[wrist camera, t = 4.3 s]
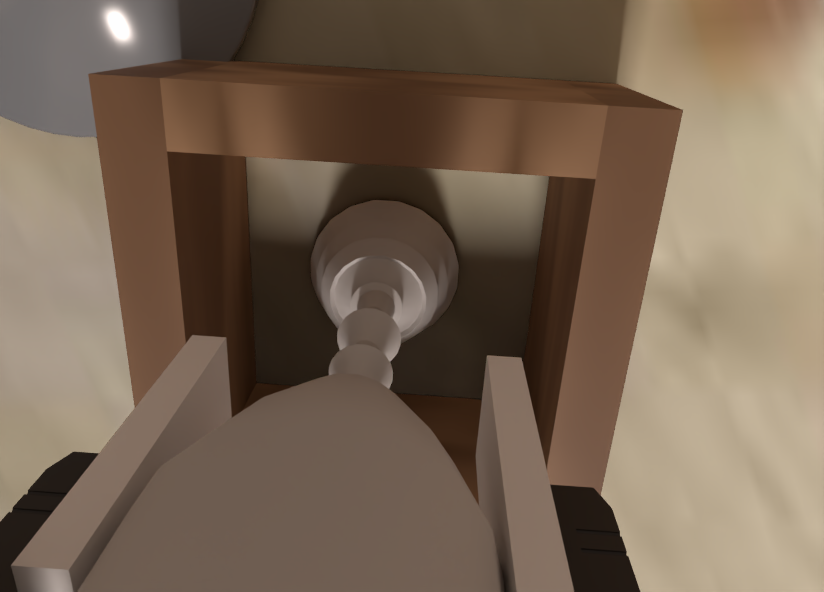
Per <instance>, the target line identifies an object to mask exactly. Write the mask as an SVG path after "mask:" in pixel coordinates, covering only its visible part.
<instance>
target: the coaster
mask: <svg viewBox="0 0 824 592" xmlns="http://www.w3.org/2000/svg"><path fill="white" fill-rule="evenodd" d="M257 3H258V0H0V116H2V117H4V118H6V119H9V120H11V121H14V122H16V123H19V124H22V125H24V126H27V127H30V128H33V129H37V130H41V131H45V132H49V133H53V134H59V135H67V136H75V137H97V134H96V127H95V119H94V112H93V105H92V98H91V91H90V84H89V77H88V74H90V73H96V72H103V71H109V70H115V69H122V68H128V67H134V66H141V65H147V64H153V63H160V62H166V61H172V60H178V59H188V60H205V61H222V62H228V61H233V59H234V58H235V56H236V54H237V53H238V51H239V49H240V47H241V46H242V44H243V42H244V40H245V37H246V35H247V32H248V30H249V28H250V25H251V23H252V20H253V18H254V14H255V10H256V7H257Z"/></svg>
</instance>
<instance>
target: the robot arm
mask: <svg viewBox="0 0 824 592" xmlns="http://www.w3.org/2000/svg"><path fill="white" fill-rule="evenodd" d="M231 418H232V414H231V399H230V385H229V371H228V356H227V342H226V337H213V336H198V335H192V336H191V338H190V339H189V340H188V341H187V343H186V344H185V345H184V346H183V348H182V349H181V350H180V351H179V353H178V354H177V355H176V357H175V358H174V359H173V360H172V362H171V363H170V364H169V365H168V367H167V368H166V369H165V371H164V372H163V373H162V374H161V376H160V377H159V378H158V379H157V381H156V382H155V383H154V384H153V386H152V387H151V388H150V390H149V391H148V392H147V393H146V395H145V396H144V397H143V398H142V400H141V401H140V402H139V404H138V405H137V406H136V407H135V409H134V410H133V411H132V412H131V414H130V415H129V416H128V417H127V419H126V420H125V421H124V423H123V424H122V425H121V426H120V428H119V429H118V430H117V431H116V433H115V434H114V435H113V436H112V438H111V439H110V440H109V442H108V443H107V444H106V445H105V447H104V448H103V449H102V450H101V452H100V453H99V454H98V453H85V452H73V453H71V454H69V455H68V456H66V457H65V458H63V459H62V460H60V461H58V462H57V463H55V464H54V465H52V466H51V467H49V468H48V469H46V470H45V471H44V473H43V474H42V475H41V476H40V477H39V478H38V479H37V481H36V482H35V483H34V484H33V485H32V486H31V487H30V489H29V490H28V494H27V495H25V494H24V495H23V497H22V498H21V499H20V500H19V501H18V502H17V503H16V505H15V506H14V507H13V510H12V512H9V513H8V514H7V515H6V516H5V517H4V518H3V519H2V521H1V522H0V592H77V591H78V590H79V588H80V586H81V585H82V583H83V582H84V580H85V579H86V577H87V575H88V574H89V572H90V571H91V569H92V568H93V566H94V564H95V563H96V561H97V560H98V558H99V557H100V555H101V554H102V552H103V550H104V549H105V547H106V546H107V544H108V543H109V541H110V539H111V538H112V536H113V535H114V533H115V532H116V530H117V528H118V527H119V525H120V524H121V522H122V521H123V519H124V517H125V516H126V514H127V513H128V511H129V510H130V508H131V507H132V505H133V504H134V502H135V501H136V500H137V498H138V497H139V495H140V494H141V493H142V491H143V490H144V488H145V487H146V486H147V484H148V483H149V481H150V480H151V479H152V477H153V476H154V474H155V473H156V472H157V470H158V469H159V467H160V466H161V465H163V464H164V463H166V462H167V461H169V460H170V459H172V458H173V457H175V456H176V455H178V454H179V453H181V452H182V451H183V450H185V449H186V448H188V447H189V446H191V445H192V444H194V443H195V442H197V441H198V440H200V439H201V438H203V437H204V436H206V435H207V434H209V433H210V432H211V431H213V430H214V429H216V428H217V427H219V426H220V425H222V424H223V423H225V422H226V421H228V420H229V419H231ZM476 470H477V484H478V498H479V507H480V509H481V510H482V512H483V514H484V516H485V517H486V519H487V521H488V522H489V524H490V526H491V528H492V530H493V534H494V538H495V542H496V546H497V550H498V554H499V558H500V562H501V567H502V571H503V575H504V583H505V592H640V590H639V587H638V584H637V581H636V578H635V575H634V572H633V569H632V566H631V563H630V560H629V557H628V556H627V555H626V552H627V551H626V548H625V545H624V543H623V540H622V537H620V531H619V528H618V525H617V522H616V519H615V516H614V513H613V510H612V508H611V507H610V506H609V505H608V504H607V502H606V501H605V500H604V499H603V498H602V497H601V496H600V494H599V493H598V492H597V491H596V490H595V489H594V488H592V487H578V486H565V485H551V484H550V482H549V478H548V473H547V469H546V464H545V460H544V455H543V451H542V447H541V442H540V438H539V433H538V429H537V424H536V420H535V416H534V411H533V407H532V402H531V398H530V393H529V389H528V385H527V380H526V376H525V371H524V367H523V362H522V358H519V357H504V356H490V355H487V360H486V369H485V377H484V386H483V395H482V404H481V413H480V421H479V430H478V439H477V448H476Z"/></svg>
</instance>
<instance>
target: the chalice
mask: <svg viewBox="0 0 824 592" xmlns="http://www.w3.org/2000/svg"><path fill="white" fill-rule="evenodd" d="M458 271H459V265H458V261H457V257H456V253H455V249H454V246H453V243H452V242H451V240H450V239H449V237H448V236H447V234H446V233H445V231H444V230H443V228H442V227H441V225H440V224H439V223H437V222H436V221H435V220H434V219H432V218H431V217H430V216H429V215H427V214H426V213H425V212H424V211H422V210H421V209H418V208H415V207H413V206H410V205H407V204H405V203H402V202H399V201H385V200H372V201H368V202H364V203H361V204H357V205H353V206H350V207H349V208H347V209H346V210H344V211H343V212H341V213H340V214H338V215H337V216H335V217H334V218H332V219H331V220H330V221H329V223H328V224H327V225H326V227H325V228H324V229H323V231H322V232H321V233H320V234H319V236H318V237H317V240H316V243H315V246H314V249H313V252H312V255H311V281H312V284H313V287H314V289H315V292H316V295H317V298H318V301H319V302H320V303H321V305H322V306H323V308H324V310H325V311H326V312H327V315H328V316H329V318H330V319H331V320H332V322H333V323H334V324H335V325H336V327H337V328H338V332H337V342H338V346H339V349H340V351H339V352H337V354H336V355H335V356H334V357H333V359H332V360H331V363H330V366H329V375H328V376H325V377H321V378H317V379H314V380H311V381H308V382H305V383H302V384H300V385H297V386H294V387H291V388H288V389H285V390H282V391H279V392H276V393H274V394H271V395H268V396H265V397H263V398H261V399H260V400H258V401H257V402H255V403H254V404H252V405H251V406H249V407H248V408H246V409H244V410H243V411H241V412H240V413H238V414H237V415H235V416H234V417H232V418H231V419H229V420H228V421H226V422H225V423H223V424H222V425H220V426H219V427H217V428H216V429H214V430H213V431H211V432H210V433H209V434H207V435H206V436H204V437H203V438H201V439H200V440H198V441H197V442H195V443H194V444H192V445H191V446H189V447H188V448H186V449H185V450H183V451H182V452H181V453H179V454H178V455H176V456H175V457H173V458H172V459H170V460H169V461H167V462H166V463H164V464H163V465H161V466H160V467H159V469H158V470H157V472H156V473H155V474H154V476H153V477H152V479H151V480H150V481H149V483H148V484H147V486H146V487H145V488H144V490H143V491H142V493H141V494H140V495H139V497H138V498H137V500H136V501H135V502H134V504H133V505H132V507H131V508H130V510H129V511H128V513H127V514H126V516H125V517H124V519H123V521H122V522H121V524H120V525H119V527H118V528H117V530H116V532H115V533H114V535H113V536H112V538H111V539H110V541H109V543H108V544H107V546H106V547H105V549H104V550H103V552H102V554H101V555H100V557H99V558H98V560H97V561H96V563H95V564H94V566H93V568H92V569H91V571H90V572H89V574H88V575H87V577H86V579H85V580H84V582H83V583H82V585H81V586H80V588H79V590H78V591H77V592H505V583H504V575H503V571H502V567H501V562H500V558H499V554H498V550H497V546H496V542H495V538H494V534H493V530H492V528H491V526H490V524H489V522H488V521H487V519H486V517H485V516H484V514H483V512H482V510H481V509H480V507H479V505H478V503H477V502H476V500H475V498H474V496H473V495H472V493H471V491H470V490H469V488H468V486H467V484H466V483H465V481H464V479H463V477H462V476H461V474H460V472H459V470H458V469H457V467H456V465H455V463H454V462H453V460H452V459H451V458H450V456H449V455H448V453H447V452H446V450H445V449H444V447H443V446H442V445H441V443H440V442H439V440H438V439H437V437H436V436H435V434H434V433H433V432H432V430H431V429H430V428H429V427H428V426H427V425H426V424H425V423H424V422H423V421H422V420H421V419H420V418H419V417H418V416H417V415H416V414H415V413H414V412H413V411H412V410H411V409H410V408H409V407H408V406H407V405H406V404H405V403H404V402H403V401H402V400H401V399H400V398H399V397H398V396H397V395H396V394H395V393H393V392H392V391H391V390H389V388H390V386H391V383H392V381H393V370H392V366H391V363H390V361H391V360H392V359H393V358H394V357H395V356H396V354H397V353H398V350H399V348H400V345H401V343H402V342H405V341H407V340H409V339H410V338H412V337H414V336H416V335H417V334H419V333H420V332H422V331H423V330H425V329H426V328H428V327H430V326H431V325H433V324H434V323H435V322H436V321H437V320H438V319H439V318H440V317H441V316H442V315H443V313H444V312H445V311H446V310H447V309H448V308H449V306H450V303H451V301H452V299H453V297H454V294H455V292H456V290H457V284H458Z"/></svg>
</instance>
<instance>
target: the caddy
mask: <svg viewBox="0 0 824 592" xmlns="http://www.w3.org/2000/svg"><path fill="white" fill-rule="evenodd" d="M88 77H89V84H90V91H91V98H92V105H93V112H94V119H95V127H96V134H97V141H98V148H99V155H100V162H101V169H102V177H103V184H104V191H105V198H106V205H107V212H108V219H109V227H110V234H111V241H112V248H113V255H114V262H115V269H116V277H117V284H118V291H119V298H120V305H121V312H122V319H123V327H124V334H125V341H126V348H127V355H128V362H129V369H130V377H131V384H132V391H133V398H134V405H135V407H136V406H137V405H138V404H139V402H140V401H141V400H142V398H143V397H144V396H145V395H146V393H147V392H148V391H149V390H150V388H151V387H152V386H153V384H154V383H155V382H156V381H157V379H158V378H159V377H160V376H161V374H162V373H163V372H164V371H165V369H166V368H167V367H168V365H169V364H170V363H171V362H172V360H173V359H174V358H175V357H176V355H177V354H178V353H179V351H180V350H181V349H182V348H183V346H184V345H185V344H186V343H187V341H188V340H189V339H190V338H191V336H192V335H198V336H213V337H226V342H227V356H228V371H229V385H230V399H231V414H232V417H234V416H235V415H237V414H238V413H240V412H241V411H243V410H244V409H246V408H248V407H249V406H251V405H252V404H254V403H255V402H257V401H258V400H260V399H261V398H263V397H265V396H268V395H271V394H274V393H276V392H279V391H282V390H285V389H288V388H291V387H294V386H290V385H276V384H263V383H257V381H256V361H255V341H254V321H253V301H252V281H251V261H250V241H249V221H248V201H247V181H246V161H245V156H246V157H262V158H278V159H293V160H309V161H324V162H340V163H355V164H371V165H386V166H402V167H418V168H433V169H449V170H464V171H480V172H495V173H511V174H526V175H542V176H550V177H549V184H548V191H547V198H546V206H545V213H544V220H543V227H542V234H541V241H540V249H539V256H538V263H537V270H536V277H535V284H534V291H533V299H532V306H531V313H530V320H529V327H528V334H527V342H526V349H525V356H524V363H523V367H524V371H525V376H526V380H527V385H528V389H529V393H530V398H531V402H532V407H533V411H534V416H535V420H536V424H537V429H538V433H539V438H540V442H541V447H542V451H543V455H544V460H545V464H546V469H547V473H548V478H549V482H550V484H551V485H565V486H578V487H592V488H594V489H595V490H596V491H597V492H598V493H599V494H600V495H601V491H602V486H603V481H604V477H605V472H606V467H607V463H608V458H609V453H610V449H611V444H612V439H613V435H614V430H615V425H616V421H617V416H618V411H619V407H620V402H621V397H622V393H623V388H624V383H625V379H626V374H627V369H628V365H629V360H630V355H631V351H632V346H633V341H634V337H635V332H636V327H637V323H638V318H639V313H640V309H641V304H642V299H643V295H644V290H645V285H646V281H647V276H648V271H649V267H650V262H651V257H652V253H653V248H654V243H655V239H656V234H657V229H658V225H659V220H660V215H661V211H662V206H663V201H664V197H665V192H666V187H667V183H668V178H669V173H670V169H671V164H672V159H673V155H674V150H675V145H676V141H677V136H678V131H679V127H680V122H681V117H682V113H683V110H681V109H679V108H676V107H674V106H671V105H669V104H666V103H664V102H661V101H659V100H656V99H654V98H651V97H649V96H646V95H644V94H641V93H639V92H636V91H634V90H631V89H628V88H626V87H623V86H621V85H618V84H613V83H597V82H580V81H563V80H547V79H530V78H514V77H497V76H481V75H464V74H447V73H431V72H414V71H398V70H381V69H365V68H348V67H331V66H315V65H298V64H282V63H265V62H249V61H228V62H222V61H205V60H188V59H178V60H172V61H166V62H160V63H153V64H147V65H141V66H134V67H128V68H122V69H115V70H109V71H103V72H96V73H90V74H88ZM395 394H396V395H397V396H398V397H399V398H400V399H401V400H402V401H403V402H404V403H405V404H406V405H407V406H408V407H409V408H410V409H411V410H412V411H413V412H414V413H415V414H416V415H417V416H418V417H419V418H420V419H421V420H422V421H423V422H424V423H425V424H426V425H427V426H428V427H429V428H430V429H431V430H432V432H433V433H434V434H435V436H436V437H437V439H438V440H439V442H440V443H441V445H442V446H443V447H444V449H445V450H446V452H447V453H448V455H449V456H450V458H451V459H452V460H453V462H454V463H455V465H456V467H457V469H458V470H459V472H460V474H461V476H462V477H463V479H464V481H465V483H466V484H467V486H468V488H469V490H470V491H471V493H472V495H473V496H474V498H475V500H476V502H477V503H478V505H479V498H478V484H477V470H476V448H477V439H478V430H479V421H480V413H481V404H482V400H480V399H466V398H453V397H439V396H426V395H412V394H399V393H395Z"/></svg>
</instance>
